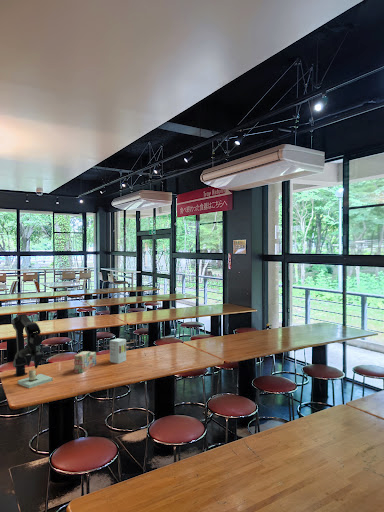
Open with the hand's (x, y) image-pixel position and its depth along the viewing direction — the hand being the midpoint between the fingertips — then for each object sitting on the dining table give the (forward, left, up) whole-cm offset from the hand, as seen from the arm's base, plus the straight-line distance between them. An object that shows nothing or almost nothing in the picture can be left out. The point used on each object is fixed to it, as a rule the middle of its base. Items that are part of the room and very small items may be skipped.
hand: (32, 367), depth 225 cm
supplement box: (+10, +64, -11) cm, 66 cm away
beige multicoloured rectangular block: (+3, +39, -11) cm, 41 cm away
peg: (0, 0, -10) cm, 10 cm away
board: (0, +2, -10) cm, 11 cm away
